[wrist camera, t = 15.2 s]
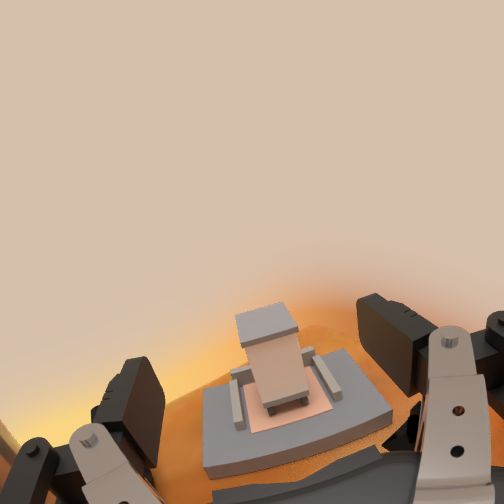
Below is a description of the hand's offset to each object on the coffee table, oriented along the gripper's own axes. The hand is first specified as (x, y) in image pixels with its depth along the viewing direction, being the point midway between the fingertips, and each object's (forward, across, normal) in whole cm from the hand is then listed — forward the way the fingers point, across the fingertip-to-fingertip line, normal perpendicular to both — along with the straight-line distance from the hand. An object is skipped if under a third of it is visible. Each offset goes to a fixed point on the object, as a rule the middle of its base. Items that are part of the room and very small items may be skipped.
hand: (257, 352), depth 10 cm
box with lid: (+17, -2, +18) cm, 25 cm away
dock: (+16, -2, +21) cm, 27 cm away
